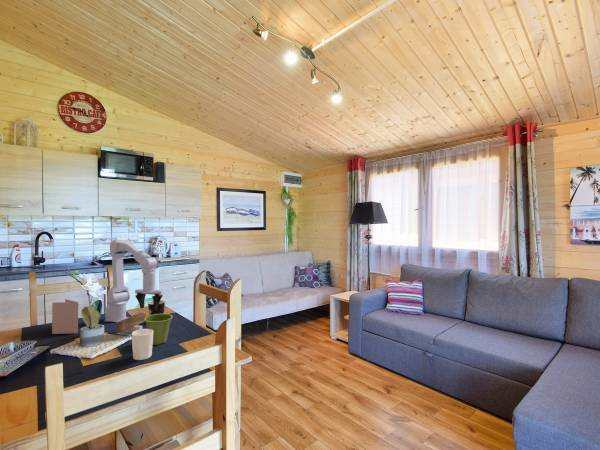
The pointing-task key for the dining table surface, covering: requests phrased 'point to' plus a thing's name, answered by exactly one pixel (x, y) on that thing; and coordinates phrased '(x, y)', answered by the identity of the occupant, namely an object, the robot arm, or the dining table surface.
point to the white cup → (142, 344)
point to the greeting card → (65, 317)
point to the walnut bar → (130, 322)
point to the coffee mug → (157, 311)
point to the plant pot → (159, 326)
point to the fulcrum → (130, 330)
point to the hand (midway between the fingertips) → (148, 308)
